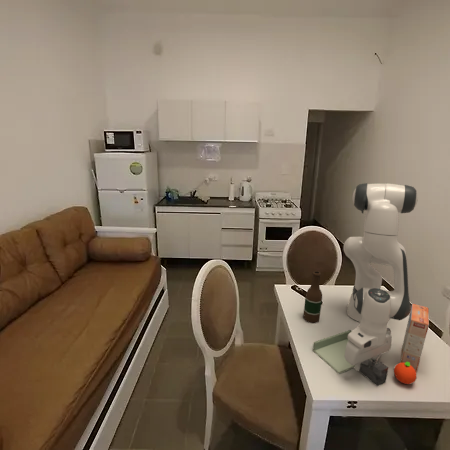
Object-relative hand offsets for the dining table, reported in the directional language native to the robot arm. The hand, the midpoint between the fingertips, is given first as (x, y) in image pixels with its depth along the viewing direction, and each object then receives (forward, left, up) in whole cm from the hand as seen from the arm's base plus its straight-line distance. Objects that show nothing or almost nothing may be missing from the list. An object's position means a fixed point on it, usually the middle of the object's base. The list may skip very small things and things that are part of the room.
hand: (365, 366), depth 115 cm
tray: (0, -10, -2) cm, 10 cm away
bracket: (0, +3, -2) cm, 4 cm away
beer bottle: (-5, -35, -2) cm, 35 cm away
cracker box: (-21, +3, -2) cm, 21 cm away
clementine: (-9, +9, -2) cm, 13 cm away
